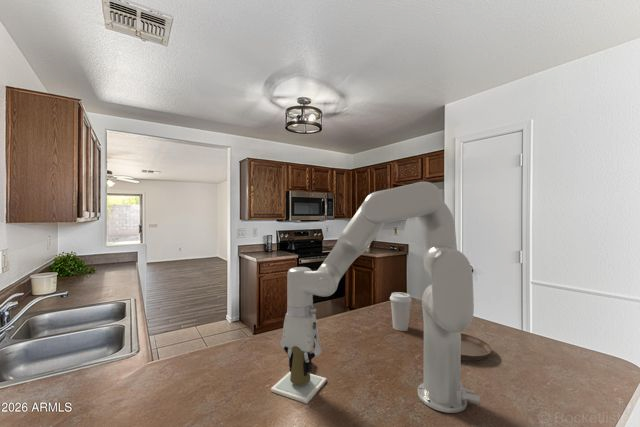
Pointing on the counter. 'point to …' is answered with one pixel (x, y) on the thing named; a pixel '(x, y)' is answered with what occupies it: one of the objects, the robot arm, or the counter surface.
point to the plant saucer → (473, 348)
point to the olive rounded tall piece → (298, 367)
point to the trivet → (299, 388)
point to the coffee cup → (400, 310)
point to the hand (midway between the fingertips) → (300, 371)
